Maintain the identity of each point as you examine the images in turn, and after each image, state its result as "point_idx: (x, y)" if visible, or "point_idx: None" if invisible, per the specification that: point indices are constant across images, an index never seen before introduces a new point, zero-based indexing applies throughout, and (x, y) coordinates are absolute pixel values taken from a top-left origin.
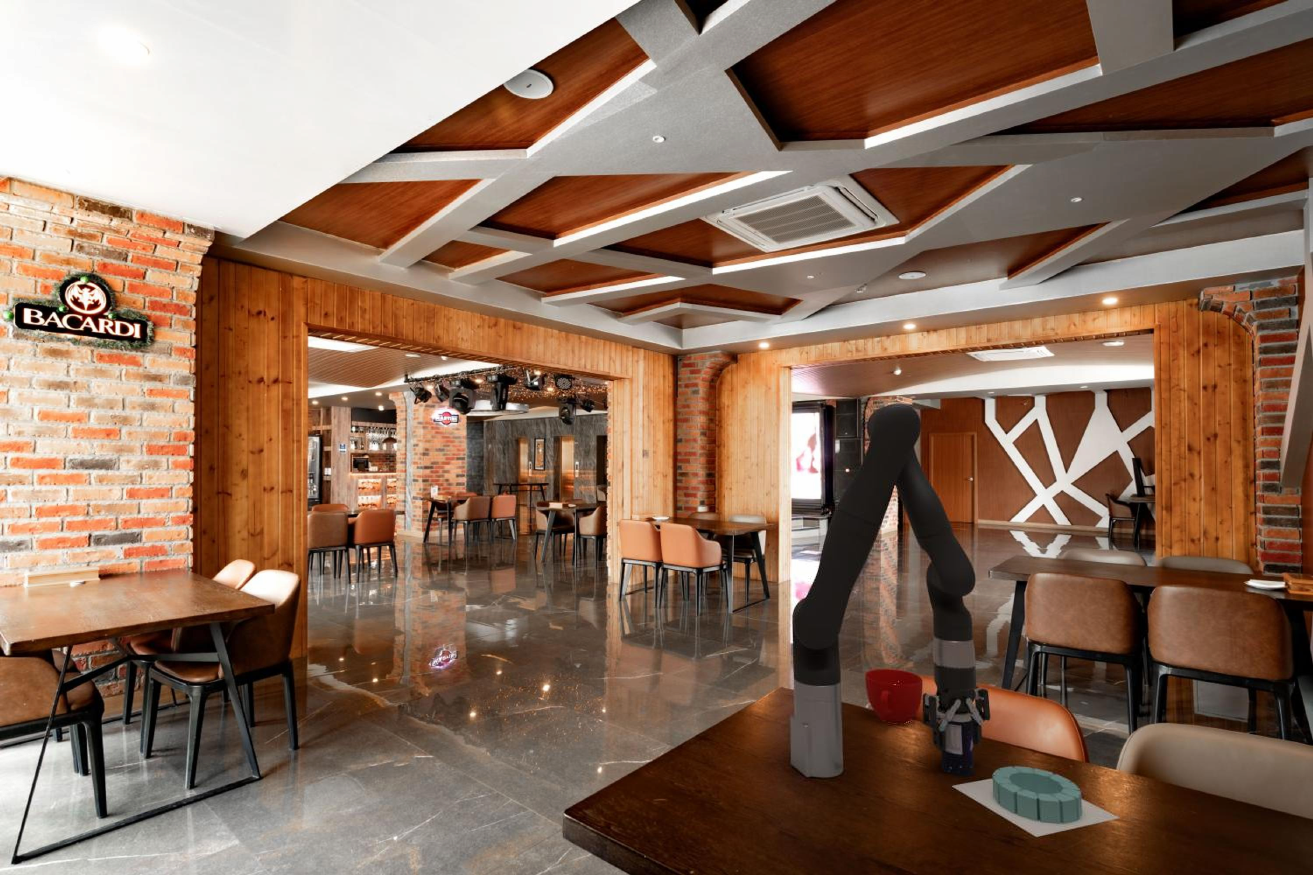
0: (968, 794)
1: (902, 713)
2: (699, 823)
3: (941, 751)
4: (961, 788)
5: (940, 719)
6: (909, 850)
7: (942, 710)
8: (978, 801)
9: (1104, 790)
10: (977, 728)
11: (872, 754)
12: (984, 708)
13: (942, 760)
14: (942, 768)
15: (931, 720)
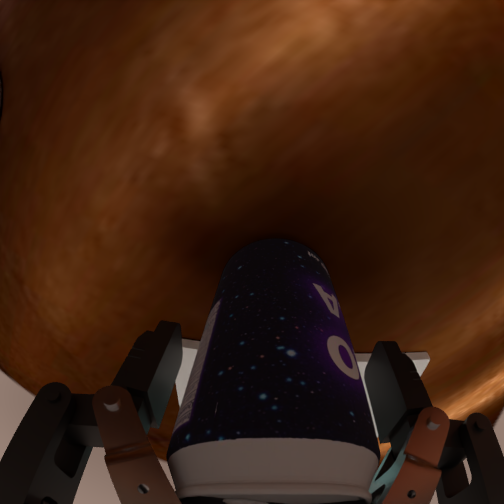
0: (180, 381)
1: None
2: None
3: (218, 294)
4: (186, 361)
5: (179, 426)
6: (32, 383)
7: (177, 494)
8: (180, 400)
9: (450, 408)
10: (378, 432)
11: (108, 40)
12: (440, 501)
13: (220, 282)
14: (226, 264)
15: (58, 452)
